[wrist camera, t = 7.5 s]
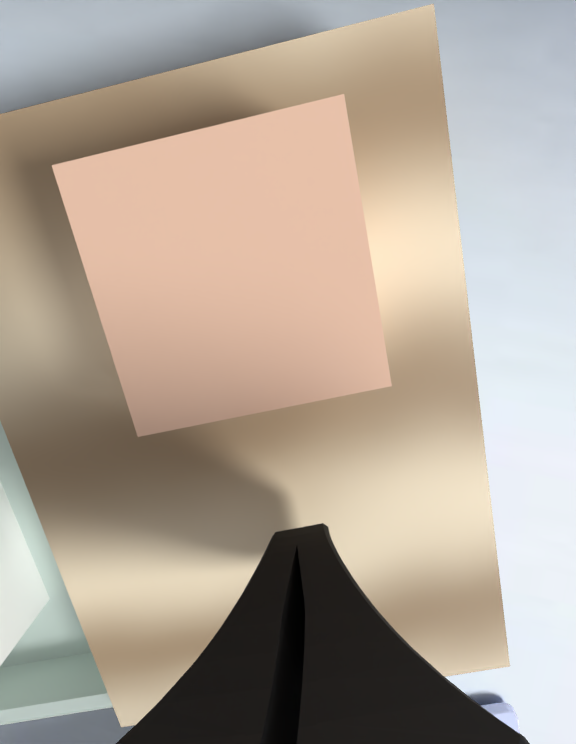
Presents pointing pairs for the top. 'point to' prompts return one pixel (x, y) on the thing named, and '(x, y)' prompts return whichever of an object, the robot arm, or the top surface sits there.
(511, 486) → the top surface
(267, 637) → the robot arm
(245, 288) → the tile terracotta
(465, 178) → the top surface
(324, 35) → the board
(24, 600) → the tile white
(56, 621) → the tray
